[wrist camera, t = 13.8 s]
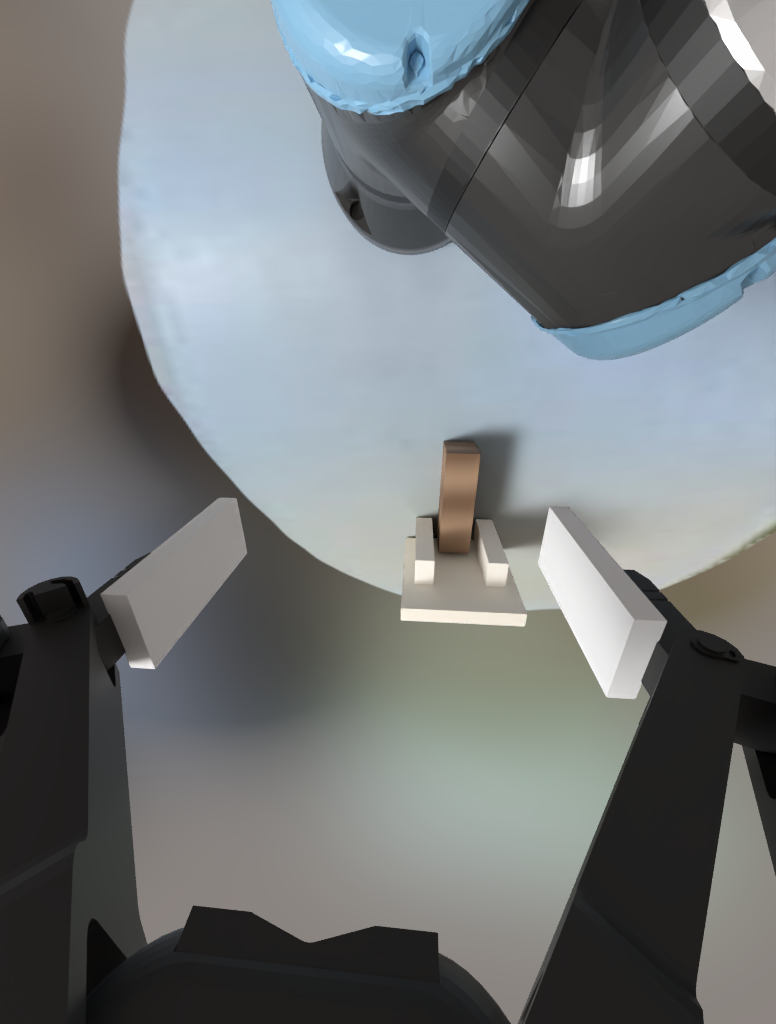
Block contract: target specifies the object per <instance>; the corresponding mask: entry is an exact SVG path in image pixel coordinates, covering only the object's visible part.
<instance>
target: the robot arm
mask: <svg viewBox="0 0 776 1024" xmlns="http://www.w3.org/2000/svg"><path fill="white" fill-rule="evenodd" d="M271 3H272V6H273V11H274V16H275V19H276V23H277V27H278V31H279V32H280V34H281V36H282V39H283V43H284V46H285V49H286V50H287V51H288V52H289V55H290V58H291V61H292V63H293V65H294V66H295V67H296V69H297V70H298V71H299V72H300V74H301V76H302V78H303V80H304V82H305V84H306V86H307V89H308V91H309V93H310V95H311V97H312V99H313V101H314V103H315V105H316V108H317V110H318V112H319V114H320V116H321V118H322V132H321V134H322V150H323V157H324V163H325V168H326V172H327V176H328V180H329V183H330V186H331V188H332V191H333V193H334V196H335V198H336V200H337V202H338V204H339V206H340V207H341V209H342V211H343V212H344V214H345V215H346V217H347V219H348V220H349V221H350V223H351V224H352V225H353V227H354V228H355V229H356V230H357V231H358V232H359V233H360V234H361V235H362V236H363V237H364V238H365V239H367V240H368V241H369V242H371V243H372V244H374V245H376V246H377V247H379V248H381V249H384V250H386V251H389V252H392V253H397V254H404V255H415V254H423V253H427V252H430V251H433V250H436V249H438V248H440V247H442V246H444V245H446V244H447V243H449V242H451V241H453V242H454V243H455V244H456V245H457V246H458V247H459V248H460V249H461V250H462V251H463V252H464V253H465V254H466V255H468V256H469V257H470V258H471V259H472V260H473V261H474V262H475V263H476V264H477V265H478V266H479V267H480V268H481V269H483V270H484V271H485V272H486V273H487V274H488V275H489V276H490V277H491V278H492V279H493V280H494V281H495V282H496V283H498V284H499V285H500V286H501V287H502V288H503V289H504V290H505V291H506V292H507V293H508V294H509V295H510V296H511V297H512V298H514V299H515V300H516V301H517V302H518V303H519V304H520V305H521V306H522V307H523V308H524V309H525V310H526V311H527V312H529V313H530V314H531V318H532V321H533V322H534V324H535V325H536V326H537V327H538V328H539V329H540V330H542V331H545V332H547V333H548V334H552V335H553V336H554V337H555V338H557V339H558V340H559V341H560V342H561V343H563V344H564V345H565V346H566V347H567V348H569V349H570V350H571V351H572V352H574V353H575V354H577V355H579V356H583V357H586V358H588V359H594V360H613V359H619V358H624V357H628V356H632V355H636V354H639V353H642V352H645V351H647V350H650V349H653V348H655V347H658V346H660V345H662V344H665V343H667V342H669V341H671V340H673V339H676V338H677V337H679V336H681V335H683V334H685V333H687V332H689V331H691V330H693V329H695V328H696V327H698V326H700V325H702V324H703V323H705V322H707V321H708V320H710V319H712V318H713V317H715V316H716V315H718V314H720V313H721V312H723V311H724V310H725V309H727V308H728V307H730V306H731V305H733V304H734V303H736V302H737V301H738V300H740V299H741V298H742V297H743V293H744V291H743V289H744V288H746V287H748V286H750V285H752V284H754V283H756V282H759V281H761V280H764V279H766V278H768V277H770V276H771V275H772V274H773V273H774V272H775V271H776V0H271ZM246 554H247V550H246V544H245V539H244V534H243V529H242V525H241V519H240V514H239V509H238V504H237V499H236V498H218V499H217V500H216V501H215V502H214V503H213V504H211V505H210V506H209V507H207V508H206V509H205V510H204V511H202V512H201V513H200V514H199V515H197V516H196V517H195V518H194V519H192V520H191V521H190V522H189V523H188V524H186V525H185V526H184V527H183V528H181V529H180V530H179V531H178V532H176V533H175V534H174V535H173V536H171V537H170V538H169V539H168V540H167V541H166V542H164V543H163V544H162V545H160V546H159V547H158V548H157V549H155V550H154V551H153V552H152V553H148V554H146V555H144V556H142V557H140V558H139V559H136V560H134V561H133V562H132V563H131V564H129V565H128V566H127V567H126V568H124V570H123V571H120V572H119V573H118V574H117V575H115V576H114V578H111V579H110V580H109V581H108V582H107V583H105V584H104V585H103V586H101V587H100V588H99V589H98V590H96V591H95V592H94V593H92V594H91V595H90V596H89V597H86V595H85V593H84V591H83V588H82V586H81V584H80V582H79V580H78V579H77V578H75V577H59V578H54V579H50V580H47V581H44V582H41V583H38V584H37V585H34V586H33V587H31V588H28V589H27V590H26V591H25V592H23V593H22V594H20V595H19V597H18V598H17V600H16V601H17V603H18V604H19V606H20V608H21V610H22V612H23V614H24V615H25V617H26V619H27V621H28V624H22V625H16V626H10V627H7V625H6V624H5V622H4V620H3V618H2V617H1V616H0V1024H511V1023H510V1022H509V1020H508V1019H507V1017H506V1016H505V1015H504V1013H503V1012H502V1010H501V1009H500V1007H499V1006H498V1004H497V1003H496V1002H495V1000H494V999H493V998H492V997H491V996H490V994H489V993H488V992H487V991H486V990H485V989H484V987H483V986H482V985H481V984H480V983H479V982H478V981H477V980H476V979H475V978H474V977H473V976H472V975H471V974H470V973H469V972H467V971H466V970H465V969H464V968H462V967H461V966H459V965H458V964H457V963H455V962H454V961H453V960H451V959H449V958H447V957H445V956H444V955H442V954H440V953H438V933H435V932H426V931H416V930H407V929H399V928H390V927H380V926H374V927H370V928H366V929H362V930H359V931H355V932H351V933H347V934H343V935H340V936H336V937H332V938H328V939H325V940H321V941H317V942H313V943H307V942H304V941H301V940H300V939H298V938H296V937H294V936H293V935H291V934H289V933H287V932H285V931H284V930H282V929H280V928H278V927H276V926H275V925H273V924H271V923H269V922H268V921H266V920H264V919H262V918H260V917H259V916H257V915H255V914H253V913H252V912H246V911H237V910H228V909H219V908H210V907H201V906H193V907H192V910H191V912H190V915H189V917H188V920H187V922H186V925H185V927H184V928H181V929H178V930H175V931H173V932H171V933H168V934H166V935H164V936H161V937H160V938H158V939H156V940H154V941H153V942H151V943H149V944H147V942H146V938H145V934H144V931H143V927H142V924H141V921H140V916H139V910H138V901H137V888H136V876H135V863H134V851H133V838H132V826H131V813H130V801H129V788H128V775H127V762H126V750H125V738H124V724H123V712H122V699H121V687H120V675H119V670H118V668H117V665H116V662H117V661H118V660H119V659H120V658H121V656H122V655H123V654H124V653H125V654H126V656H127V659H128V661H129V664H130V666H131V667H133V668H150V669H155V668H156V667H157V666H158V664H159V663H160V662H161V661H162V659H163V658H164V657H165V656H166V654H167V653H168V651H170V649H171V648H172V647H173V646H174V644H175V643H176V642H177V641H178V639H179V638H180V637H181V636H182V634H183V633H184V632H185V630H186V629H187V628H188V627H189V626H190V624H191V623H192V622H193V620H194V619H195V618H196V617H197V615H198V614H199V613H200V612H201V610H202V609H203V608H204V607H205V605H206V604H207V603H208V602H209V600H210V599H211V598H212V597H213V595H214V594H215V593H216V591H217V590H218V589H219V588H220V587H221V585H222V584H223V583H224V581H225V580H226V579H227V578H228V576H229V575H230V574H231V573H232V571H233V570H234V569H235V568H236V566H237V565H238V564H239V563H240V561H241V560H242V559H243V557H244V556H245V555H246ZM538 565H539V567H540V569H541V571H542V573H543V575H544V577H545V579H546V580H547V582H548V584H549V586H550V588H551V590H552V592H553V594H554V596H555V598H556V600H557V602H558V604H559V606H560V608H561V610H562V612H563V614H564V616H565V617H566V619H567V621H568V623H569V625H570V627H571V629H572V631H573V633H574V635H575V637H576V639H577V641H578V643H579V645H580V647H581V649H582V651H583V653H584V654H585V656H586V658H587V660H588V662H589V664H590V666H591V668H592V670H593V672H594V674H595V676H596V678H597V680H598V682H599V684H600V686H601V687H602V690H603V691H604V693H605V695H606V697H610V698H627V699H636V696H637V694H638V692H639V689H640V687H641V684H643V685H644V687H645V689H646V690H647V692H648V693H649V695H650V696H651V697H650V699H649V701H648V704H647V706H646V708H645V710H644V713H643V715H642V717H641V720H640V722H639V726H638V728H637V731H636V733H635V736H634V738H633V741H632V743H631V746H630V748H629V751H628V753H627V755H626V758H625V761H624V763H623V765H622V768H621V770H620V773H619V775H618V778H617V781H616V783H615V785H614V788H613V790H612V793H611V795H610V798H609V800H608V803H607V805H606V808H605V810H604V813H603V815H602V817H601V820H600V822H599V825H598V827H597V830H596V832H595V835H594V837H593V840H592V842H591V845H590V847H589V850H588V852H587V855H586V857H585V860H584V862H583V865H582V867H581V870H580V872H579V875H578V877H577V879H576V883H575V885H574V887H573V889H572V892H571V894H570V897H569V900H568V902H567V904H566V907H565V909H564V912H563V914H562V917H561V919H560V922H559V924H558V927H557V929H556V932H555V934H554V936H553V939H552V942H551V944H550V947H549V949H548V951H547V954H546V956H545V959H544V961H543V964H542V966H541V968H540V971H539V973H538V976H537V978H536V981H535V983H534V985H533V987H532V990H531V992H530V995H529V997H528V1000H527V1002H526V1004H525V1007H524V1009H523V1012H522V1014H521V1017H520V1019H519V1022H518V1024H704V1021H703V1010H702V1008H701V1006H700V1004H699V1002H698V1001H697V999H696V982H697V973H698V967H699V961H700V955H701V948H702V941H703V935H704V928H705V922H706V916H707V909H708V902H709V896H710V890H711V884H712V877H713V871H714V864H715V858H716V852H717V845H718V839H719V832H720V826H721V819H722V813H723V806H724V799H725V794H726V787H727V780H728V774H729V768H730V761H731V755H732V748H733V742H734V743H737V744H740V745H742V747H743V751H744V755H745V759H746V763H747V766H748V770H749V774H750V778H751V782H752V786H753V790H754V794H755V798H756V801H757V805H758V809H759V813H760V817H761V821H762V824H763V829H764V832H765V836H766V840H767V844H768V848H769V851H770V856H771V859H772V863H773V867H774V871H775V875H776V667H775V666H771V665H767V664H763V663H759V662H755V661H751V660H747V659H744V656H743V655H742V654H741V653H740V652H739V650H738V649H737V648H735V647H734V646H733V645H731V644H730V643H729V642H727V641H726V640H724V639H722V638H720V637H718V636H716V635H713V634H710V633H707V632H704V631H700V630H696V629H695V628H694V627H693V626H692V625H691V624H690V623H689V622H688V621H687V620H686V618H684V616H683V615H682V614H681V613H680V612H679V611H678V610H677V609H676V608H675V607H674V606H673V604H672V603H671V602H669V601H668V600H667V598H666V597H665V596H664V595H663V594H662V593H661V592H659V590H658V588H657V587H656V586H655V585H654V584H653V583H652V582H651V581H650V580H649V579H647V578H646V577H644V576H643V575H641V574H639V573H638V572H636V571H635V570H623V569H622V568H621V567H620V566H619V565H618V563H617V562H616V561H615V560H614V559H613V558H612V556H611V555H610V554H609V553H608V552H607V551H606V550H605V548H604V547H603V546H602V545H601V544H600V543H599V541H598V540H597V539H596V538H595V537H594V536H593V534H592V533H591V532H590V531H589V530H588V529H587V527H586V526H585V525H584V524H583V523H582V522H581V521H580V519H579V518H578V517H577V516H576V515H575V514H574V512H573V511H572V510H571V509H570V508H569V507H549V511H548V516H547V521H546V526H545V531H544V536H543V541H542V546H541V551H540V556H539V561H538Z"/></svg>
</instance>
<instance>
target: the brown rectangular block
mask: <svg viewBox="0 0 776 1024" xmlns="http://www.w3.org/2000/svg"><path fill="white" fill-rule="evenodd" d="M480 456H481V454H480V452H479V450H478V448H477V446H476V444H475V442H463V441H444V446H443V459H442V473H441V486H440V500H439V513H438V527H437V536H438V548H439V552H449V553H469V548H470V540H471V531H472V523H473V515H474V506H475V498H476V490H477V481H478V473H479V464H480Z"/></svg>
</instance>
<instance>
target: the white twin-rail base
mask: <svg viewBox="0 0 776 1024" xmlns="http://www.w3.org/2000/svg"><path fill="white" fill-rule="evenodd" d="M526 618H527V613H526V610H525V607H524V605H523V602H522V599H521V597H520V594H519V592H518V589H517V586H516V584H515V581H514V578H513V576H512V573H511V571H510V568H509V563H508V560H507V557H506V555H505V552H504V550H503V547H502V545H501V542H500V539H499V537H498V534H497V532H496V529H495V526H494V524H493V521H492V520H485V519H476V522H475V531H474V540H470V548H469V553H449V552H439V548H438V539H433V527H432V518H417V517H416V538H406V545H405V559H404V573H403V587H402V601H401V620H406V621H426V622H447V623H466V624H486V625H507V626H525V623H526Z"/></svg>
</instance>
